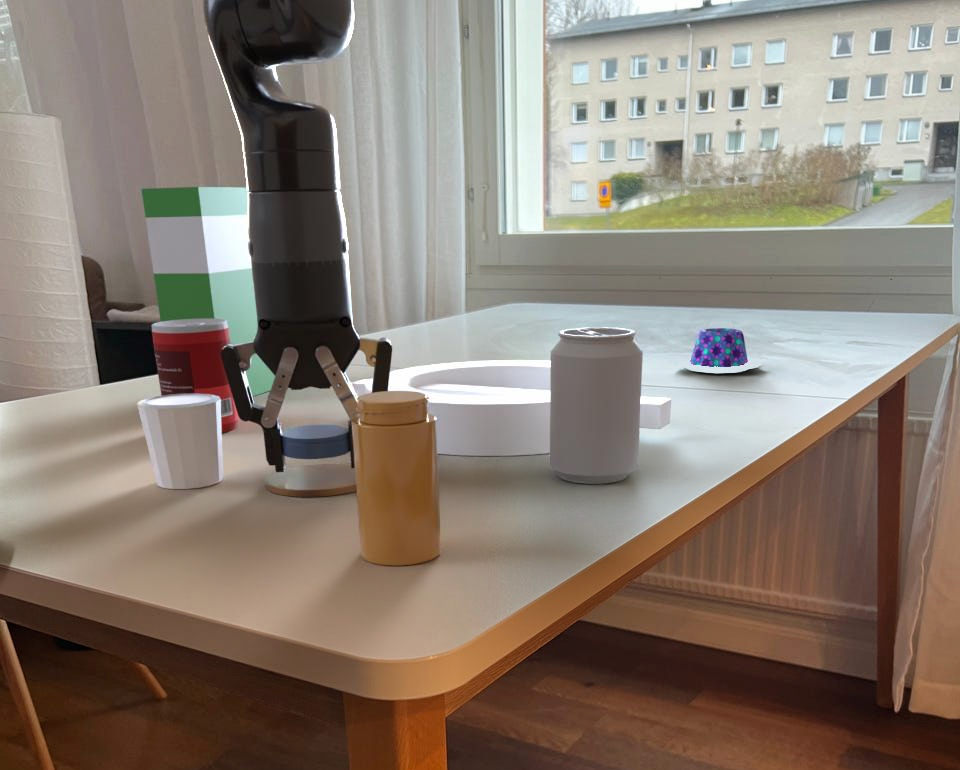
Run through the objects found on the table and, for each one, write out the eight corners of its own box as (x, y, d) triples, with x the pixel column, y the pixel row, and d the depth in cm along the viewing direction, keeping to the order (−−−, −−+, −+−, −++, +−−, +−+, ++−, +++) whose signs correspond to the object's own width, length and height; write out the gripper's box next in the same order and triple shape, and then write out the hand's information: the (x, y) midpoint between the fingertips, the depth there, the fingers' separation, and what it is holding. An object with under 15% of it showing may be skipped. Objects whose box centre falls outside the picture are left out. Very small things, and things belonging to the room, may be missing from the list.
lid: (352, 442, 86) (350, 423, 86) (351, 457, 81) (350, 436, 81) (284, 445, 86) (282, 426, 85) (280, 461, 81) (278, 440, 80)
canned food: (245, 420, 111) (233, 317, 106) (233, 435, 103) (220, 325, 99) (175, 422, 110) (161, 319, 106) (159, 437, 103) (142, 327, 99)
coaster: (266, 500, 80) (265, 493, 79) (266, 474, 88) (265, 467, 88) (378, 492, 81) (377, 485, 81) (367, 467, 89) (367, 460, 89)
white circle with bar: (345, 412, 114) (342, 369, 112) (572, 394, 121) (572, 354, 119) (402, 467, 89) (400, 413, 87) (682, 440, 97) (685, 390, 95)
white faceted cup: (182, 495, 82) (170, 409, 79) (132, 483, 86) (119, 401, 83) (246, 477, 87) (237, 396, 84) (197, 467, 91) (186, 389, 88)
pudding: (729, 379, 129) (732, 337, 127) (655, 370, 137) (657, 331, 135) (780, 368, 136) (784, 329, 134) (707, 361, 145) (710, 323, 142)
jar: (376, 570, 64) (365, 407, 60) (350, 547, 68) (338, 394, 64) (453, 557, 66) (448, 398, 62) (423, 536, 70) (416, 386, 66)
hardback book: (246, 380, 137) (224, 189, 127) (294, 382, 135) (276, 188, 125) (172, 403, 122) (141, 188, 112) (225, 405, 119) (198, 186, 110)
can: (617, 490, 80) (623, 336, 75) (534, 480, 84) (534, 332, 79) (650, 469, 86) (657, 326, 81) (571, 461, 90) (573, 323, 85)
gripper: (390, 251, 82) (400, 454, 88) (212, 255, 80) (236, 462, 87) (393, 255, 75) (404, 475, 81) (198, 260, 73) (226, 483, 80)
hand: (317, 467), depth 84 cm, fingers closed on lid, 5 cm apart
